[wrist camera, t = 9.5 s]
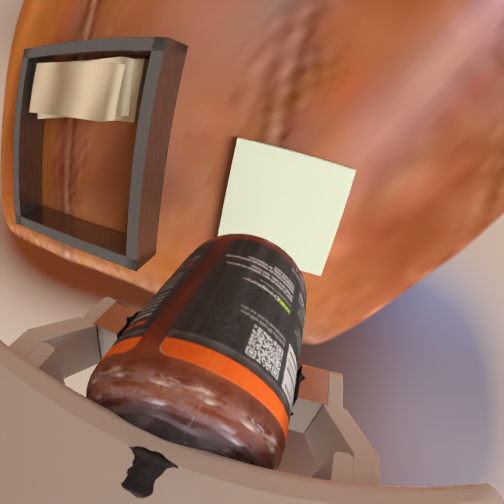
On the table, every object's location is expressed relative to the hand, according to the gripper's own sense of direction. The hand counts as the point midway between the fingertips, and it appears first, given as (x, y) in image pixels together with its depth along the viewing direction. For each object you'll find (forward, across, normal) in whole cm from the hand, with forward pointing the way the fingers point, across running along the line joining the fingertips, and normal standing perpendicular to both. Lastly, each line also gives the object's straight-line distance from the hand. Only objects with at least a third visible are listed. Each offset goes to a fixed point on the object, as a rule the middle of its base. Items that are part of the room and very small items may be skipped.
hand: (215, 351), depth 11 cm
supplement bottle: (+5, 0, 0) cm, 5 cm away
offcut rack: (+19, +21, -2) cm, 28 cm away
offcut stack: (+19, +20, -8) cm, 29 cm away
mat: (+18, 0, 0) cm, 19 cm away
